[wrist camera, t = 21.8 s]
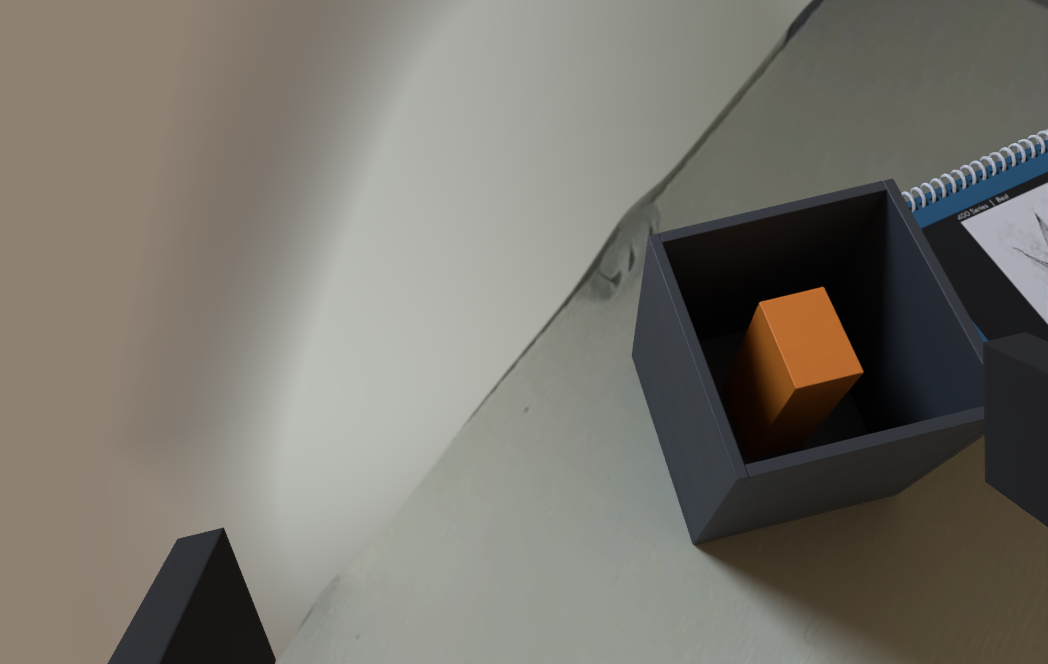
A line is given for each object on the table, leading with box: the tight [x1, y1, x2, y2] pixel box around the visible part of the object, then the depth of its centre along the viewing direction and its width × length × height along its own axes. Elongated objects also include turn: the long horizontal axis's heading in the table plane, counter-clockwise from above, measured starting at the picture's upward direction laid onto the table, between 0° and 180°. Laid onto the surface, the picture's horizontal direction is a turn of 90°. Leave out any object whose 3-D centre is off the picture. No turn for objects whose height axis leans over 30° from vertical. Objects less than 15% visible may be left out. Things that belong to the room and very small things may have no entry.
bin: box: [632, 179, 985, 545], centre depth 44 cm, size 13×13×15 cm
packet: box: [722, 287, 864, 460], centre depth 44 cm, size 4×5×12 cm
